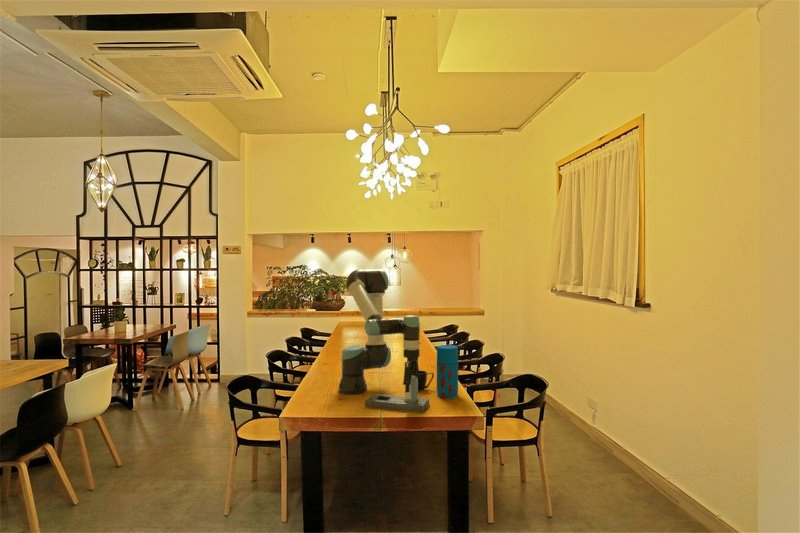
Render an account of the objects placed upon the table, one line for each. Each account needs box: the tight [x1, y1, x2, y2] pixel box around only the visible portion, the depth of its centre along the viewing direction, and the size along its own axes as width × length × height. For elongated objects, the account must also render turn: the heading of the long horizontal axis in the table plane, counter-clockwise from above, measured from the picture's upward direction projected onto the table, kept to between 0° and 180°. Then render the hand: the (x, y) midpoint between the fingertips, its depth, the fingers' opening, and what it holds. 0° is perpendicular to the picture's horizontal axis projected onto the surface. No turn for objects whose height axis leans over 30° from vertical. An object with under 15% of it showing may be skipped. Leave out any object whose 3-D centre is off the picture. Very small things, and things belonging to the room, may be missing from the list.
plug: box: [406, 375, 418, 403], centre depth 212 cm, size 4×4×15 cm
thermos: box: [436, 344, 459, 400], centre depth 231 cm, size 11×11×25 cm
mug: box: [417, 370, 435, 392], centre depth 242 cm, size 8×12×10 cm
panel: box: [364, 393, 430, 414], centre depth 214 cm, size 28×12×3 cm, turn 72°
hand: (411, 395), depth 212 cm, fingers open, 11 cm apart
